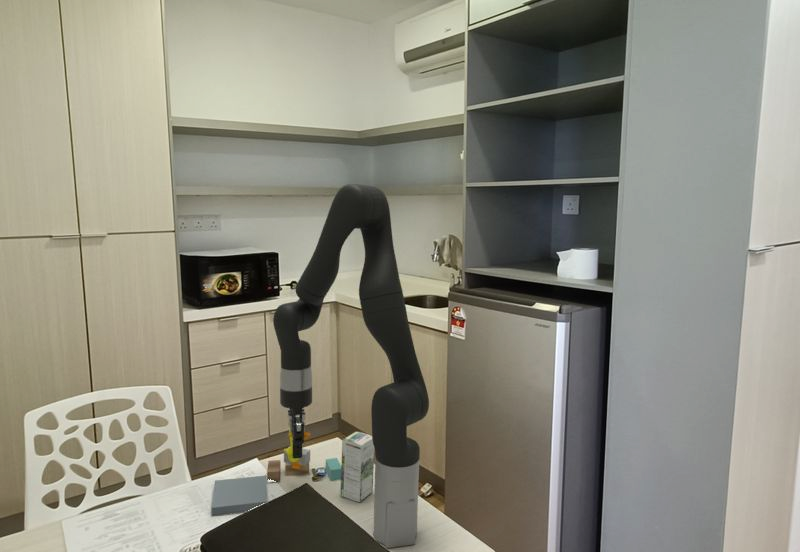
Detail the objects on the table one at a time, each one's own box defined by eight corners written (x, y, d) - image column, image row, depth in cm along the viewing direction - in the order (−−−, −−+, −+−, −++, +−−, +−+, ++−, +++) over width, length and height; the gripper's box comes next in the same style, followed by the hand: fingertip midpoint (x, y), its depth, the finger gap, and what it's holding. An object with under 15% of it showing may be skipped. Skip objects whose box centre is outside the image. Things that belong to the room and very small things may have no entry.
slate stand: (267, 509, 122) (267, 501, 122) (211, 516, 119) (211, 507, 118) (266, 482, 133) (266, 475, 133) (215, 488, 130) (214, 480, 130)
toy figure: (313, 464, 131) (312, 417, 129) (308, 471, 128) (307, 423, 126) (286, 462, 132) (285, 415, 131) (281, 469, 129) (279, 421, 127)
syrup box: (353, 485, 133) (354, 430, 131) (373, 492, 130) (375, 436, 128) (339, 496, 128) (340, 438, 126) (360, 503, 125) (361, 444, 124)
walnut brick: (279, 482, 134) (279, 471, 134) (267, 483, 134) (267, 472, 133) (280, 470, 140) (280, 460, 140) (268, 471, 139) (268, 460, 139)
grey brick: (310, 460, 140) (310, 449, 139) (304, 466, 137) (304, 454, 136) (289, 456, 141) (289, 446, 141) (283, 461, 139) (283, 450, 138)
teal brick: (342, 479, 137) (342, 468, 136) (330, 481, 136) (330, 470, 135) (336, 468, 142) (336, 457, 142) (325, 470, 141) (325, 459, 141)
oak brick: (308, 468, 142) (308, 457, 141) (309, 474, 139) (309, 463, 138) (285, 470, 140) (285, 459, 140) (285, 476, 137) (285, 465, 137)
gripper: (315, 393, 122) (315, 465, 124) (308, 374, 136) (309, 440, 138) (281, 395, 120) (282, 469, 122) (278, 376, 134) (279, 443, 136)
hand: (296, 453), depth 130 cm, fingers closed on toy figure, 3 cm apart
